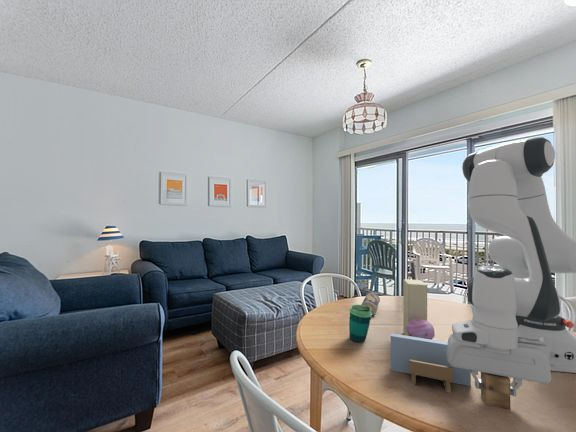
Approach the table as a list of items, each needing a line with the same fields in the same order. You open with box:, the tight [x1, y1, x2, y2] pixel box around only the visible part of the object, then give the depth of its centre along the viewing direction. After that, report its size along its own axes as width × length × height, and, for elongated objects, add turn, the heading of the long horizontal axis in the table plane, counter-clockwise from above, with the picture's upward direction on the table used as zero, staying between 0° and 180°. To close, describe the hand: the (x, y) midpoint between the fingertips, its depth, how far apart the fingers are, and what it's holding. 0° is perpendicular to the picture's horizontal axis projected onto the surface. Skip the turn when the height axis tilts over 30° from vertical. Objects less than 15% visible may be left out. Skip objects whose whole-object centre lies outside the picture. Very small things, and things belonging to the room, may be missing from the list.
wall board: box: [390, 333, 472, 393], centre depth 74 cm, size 20×8×10 cm, turn 67°
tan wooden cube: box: [480, 372, 511, 410], centre depth 65 cm, size 5×4×7 cm
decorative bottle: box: [360, 291, 381, 316], centre depth 129 cm, size 26×8×7 cm, turn 156°
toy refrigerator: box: [402, 278, 428, 336], centre depth 101 cm, size 8×7×21 cm
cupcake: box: [406, 319, 435, 340], centre depth 93 cm, size 9×9×10 cm
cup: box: [348, 304, 373, 344], centre depth 99 cm, size 8×8×12 cm
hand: (494, 390), depth 66 cm, fingers closed on tan wooden cube, 5 cm apart
